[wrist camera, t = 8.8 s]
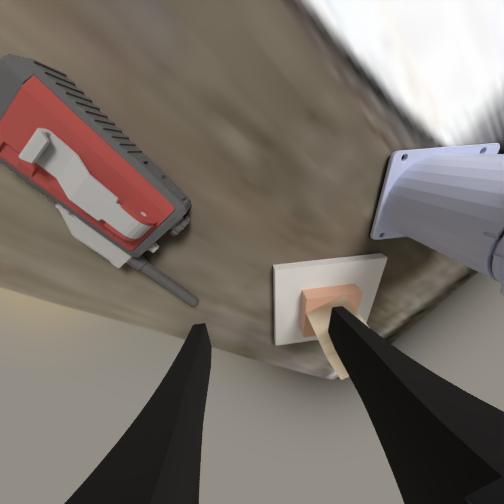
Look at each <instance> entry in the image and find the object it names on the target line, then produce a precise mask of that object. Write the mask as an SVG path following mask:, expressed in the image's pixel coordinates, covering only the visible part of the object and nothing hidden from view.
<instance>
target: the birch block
mask: <svg viewBox="0 0 504 504" xmlns="http://www.w3.org/2000/svg"><path fill="white" fill-rule="evenodd" d="M338 306H343V307H345V308H346V309H347V310H348V311H349V312H351V313H352V314H353V315H354V316H356V317H357V318H358V319H359V320H360V321H362V322H363V323H364V324H365V325H367V324H366V322H365V321H364V320H363V318H362V317H361V316H360V315H359V313H358V312H357V311H356V309H355V308H354V307H353V306H352V304H351V303H350V302H349V300H348V299H347V298H346V297H345V295H343V296H341V297H339V298H337V299H335V300H333V301H331V302H329V303H327V304H324V305H322V306H320V307H318V308H316V309H314V310H312V311H310V312H307V313H306V314H307V316H308V319H309V321H310V323H311V325H312V327H313V329H314V332H315V334H316V336H317V338H318V340H319V342H320V345H321V347H322V349H323V351H324V353H325V356H326V358H327V359H328V361H329V362H330V364H331V365H332V367H333V368H334V370H335V371H336V373H337V374H338V376H339V377H340V379H341V380H342V379H345V378H347V377H349V375H348V373H347V371H346V369H345V367H344V366H343V364H342V362H341V360H340V358H339V356H338V354H337V352H336V351H335V348H334V346H333V344H332V341H331V339H330V336H329V334H328V327H329V322H330V316H331V311H332V307H338ZM367 326H368V325H367ZM368 327H369V326H368ZM369 328H370V327H369Z"/></svg>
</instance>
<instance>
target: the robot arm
mask: <svg viewBox="0 0 504 504" xmlns="http://www.w3.org/2000/svg"><path fill="white" fill-rule="evenodd" d="M499 148H500V145H499V143H489V144H476V145H464V146H451V147H439V148H426V149H414V150H402V151H395V152H394V153H393V154H392V155H391V157H390V160H389V164H388V168H387V172H386V175H385V179H384V183H383V187H382V191H381V195H380V199H379V203H378V207H377V211H376V215H375V219H374V223H373V227H372V230H371V234H370V237H371V238H372V239H374V240H380V239H390V238H399V237H409V238H411V239H413V240H415V241H417V242H419V243H421V244H423V245H425V246H428V247H430V248H432V249H434V250H436V251H438V252H440V253H442V254H444V255H446V256H448V257H450V258H452V259H454V260H456V261H458V262H460V263H462V264H464V265H466V266H468V267H470V268H472V269H474V270H476V271H478V272H480V273H482V274H484V275H486V276H488V277H490V278H493V279H495V280H497V281H498V282H500V284H501V290H500V293H501V294H502V295H504V154H497V153H498V151H499ZM403 155H404V158H403V159H401V158H402V156H403ZM381 233H382V234H381ZM380 234H381V235H380ZM328 334H329V336H330V339H331V341H332V344H333V346H334V348H335V351H336V352H337V354H338V356H339V358H340V360H341V362H342V364H343V366H344V367H345V369H346V371H347V373H348V375H349V377H350V378H351V380H352V382H353V384H354V386H355V388H356V389H357V391H358V393H359V395H360V397H361V399H362V401H363V403H364V405H365V408H366V410H367V412H368V414H369V417H370V419H371V421H372V423H373V425H374V428H375V430H376V433H377V435H378V437H379V440H380V442H381V445H382V447H383V449H384V452H385V454H386V457H387V459H388V462H389V464H390V467H391V469H392V472H393V474H394V477H395V479H396V482H397V484H398V487H399V490H400V493H401V495H402V498H403V501H404V503H405V504H504V412H503V411H501V410H499V409H497V408H495V407H493V406H492V405H490V404H488V403H486V402H484V401H482V400H480V399H478V398H477V397H475V396H473V395H471V394H469V393H467V392H466V391H463V390H462V389H460V388H459V387H457V386H455V385H453V384H452V383H450V382H448V381H446V380H445V379H443V378H441V377H440V376H438V375H436V374H435V373H433V372H431V371H430V370H428V369H427V368H425V367H424V366H422V365H421V364H419V363H418V362H416V361H414V360H413V359H411V358H410V357H408V356H407V355H405V354H404V353H402V352H401V351H400V350H398V349H397V348H396V347H394V346H393V345H391V344H390V343H389V342H387V341H386V340H385V339H383V338H382V337H381V336H379V335H378V334H377V333H376V332H374V331H373V330H372V329H370V328H369V327H368V326H367V325H365V324H364V323H363V322H362V321H360V320H359V319H358V318H357V317H356V316H354V315H353V314H352V313H351V312H349V311H348V310H347V309H346V308H345V307H343V306H338V307H332V311H331V316H330V322H329V327H328ZM211 348H212V347H211V343H210V339H209V336H208V332H207V328H206V324H205V323H203V324H195V325H193V326H192V328H191V330H190V332H189V334H188V336H187V338H186V340H185V343H184V344H183V346H182V348H181V350H180V352H179V353H178V355H177V357H176V359H175V361H174V362H173V364H172V366H171V367H170V369H169V371H168V372H167V374H166V376H165V377H164V379H163V380H162V382H161V383H160V385H159V387H158V388H157V389H156V391H155V393H154V394H153V395H152V397H151V398H150V400H149V401H148V403H147V404H146V405H145V407H144V408H143V410H142V411H141V412H140V414H139V415H138V416H137V418H136V419H135V420H134V422H133V423H132V424H131V426H130V427H129V428H128V430H127V431H126V432H125V433H124V435H123V436H122V437H121V438H120V440H119V441H118V442H117V444H116V445H115V446H114V447H113V448H112V449H111V451H110V452H109V453H108V454H107V455H106V457H105V458H104V459H103V460H102V461H101V463H100V464H99V465H98V466H97V468H96V469H95V470H94V471H93V472H92V473H91V475H90V476H89V477H88V478H87V479H86V480H85V481H84V482H83V484H82V485H81V486H80V487H79V488H78V489H77V490H76V491H75V493H74V494H73V495H72V496H71V497H70V498H69V499H68V500H67V501H66V502H65V504H199V480H200V462H201V445H202V430H203V420H204V412H205V404H206V397H207V390H208V382H209V375H210V369H211Z"/></svg>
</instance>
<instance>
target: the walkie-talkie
mask: <svg viewBox="0 0 504 504" xmlns="http://www.w3.org/2000/svg"><path fill="white" fill-rule="evenodd" d="M0 163H1V164H4V165H5V166H7V167H8V168H9V169H10V170H11V171H14V172H15V173H16V174H18V175H19V177H21V178H23V179H25V180H26V181H28V183H29V184H31V185H33V186H35V187H36V188H37V189H38V190H39V191H42V192H43V193H44V194H46V196H47V197H50V198H51V199H53V200H54V201H55V202H56V203H57V205H56V206H55V207H56V208H58V209H59V211H60V213H61V214H62V216H63V218H64V220H65V222H66V224H67V226H68V227H69V229H70V231H71V233H72V235H73V236H74V237H75V238H76V239H78V240H79V241H81V242H82V243H84V244H85V245H87V246H88V247H90V248H91V249H93V250H94V251H96V252H97V253H99V254H100V255H102V256H103V257H104V258H106V259H107V260H109V261H110V262H111V264H112V265H114V266H115V267H117V268H118V269H119V268H120V267H121V266H122V265H123V264H124V263H127V264H128V265H130V266H131V267H133V268H134V269H135V270H137V271H141V272H143V273H144V274H146V275H147V276H148V277H150V278H151V279H153V280H154V281H156V282H157V283H159V284H160V285H161V286H163V287H164V288H166V289H167V290H169V291H170V292H172V293H173V294H174V295H176V296H177V297H179V298H180V299H182V300H183V301H184V302H186V303H187V304H189V305H190V306H192V307H194V306H196V305H197V304H198V301H199V300H198V298H197V297H195V296H194V295H193V294H191V293H190V292H188V291H187V290H186V289H184V288H183V287H182V286H180V285H179V284H177V283H176V282H175V281H173V280H172V279H171V278H169V277H168V276H166V275H165V274H164V273H162V272H161V271H160V270H158V269H157V268H155V267H154V266H153V265H151V264H150V263H149V262H148V260H147V259H146V258H145V257H143V256H142V254H143V253H144V252H145V251H151V252H152V253H154V252H155V251H156V250H157V249H158V248H159V245H158V244H157V243H156V242H157V240H158V239H159V238H160V237H161V236H162V235H163V234H164V233H166V232H167V231H168V230H169V229H170V234H171V235H172V236H176V235H178V234H179V233H180V232H181V231H182V230H183V229H184V228H185V227H186V226H187V225H188V224H189V223H190V218H189V217H188V216H185V217H184V215H185V214H186V212H187V211H188V210H189V208H190V207H191V201H190V199H189V198H188V197H187V196H186V195H185V194H184V193H183V192H182V191H181V190H180V189H179V188H178V187H177V186H176V185H175V184H174V183H173V182H172V181H171V180H170V179H169V178H168V177H167V176H166V175H165V174H164V173H163V172H162V171H161V170H160V169H159V168H158V167H157V166H156V165H155V164H154V163H153V162H152V161H151V160H150V159H149V158H148V157H147V156H146V155H144V154H143V153H142V151H141V150H140V149H138V148H137V147H136V146H135V144H134V143H132V142H131V141H130V140H129V137H128V136H125V135H124V134H123V133H122V130H121V129H118V128H117V127H116V126H115V123H114V122H112V121H110V120H109V119H108V118H107V115H106V114H103V113H102V112H101V111H100V108H99V107H98V106H95V105H94V104H93V103H92V100H91V99H90V98H87V97H86V96H85V95H84V92H83V91H82V90H80V89H78V88H77V87H76V86H75V83H74V82H73V81H70V80H69V79H68V78H67V77H66V74H64V73H62V72H60V71H57V70H55V69H53V68H51V67H49V66H46V65H44V64H42V63H40V62H38V61H35V60H33V59H29V58H25V57H20V56H16V55H12V54H8V55H6V56H4V57H2V58H1V59H0Z"/></svg>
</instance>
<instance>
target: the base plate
mask: <svg viewBox="0 0 504 504" xmlns="http://www.w3.org/2000/svg"><path fill="white" fill-rule="evenodd" d="M387 258H388V257H386V256H385V255H383V254H382V253H377V254H368V255H358V256H349V257H340V258H331V259H322V260H313V261H304V262H295V263H286V264H277V265H273V297H274V340H275V345H284V344H291V343H299V342H306V341H313V340H318V338H317V336H316V334H315V332H314V329H313V327H312V325H311V323H310V321H309V319H308V316H307V314H306V313H307V312H310V311H312V310H314V309H316V308H318V307H320V306H322V305H324V304H327V303H329V302H331V301H333V300H335V299H337V298H339V297H341V296H343V295H345V297H346V298H347V299H348V300H349V302H350V303H351V304H352V306H353V307H354V308H355V309H356V311H357V312H358V313H359V315H360V316H361V317H362V318H363V320H364V321H365V322H366V323H367V320H368V317H369V314H370V311H371V308H372V305H373V302H374V299H375V295H376V292H377V289H378V286H379V283H380V280H381V277H382V274H383V271H384V268H385V264H386V261H387Z"/></svg>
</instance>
